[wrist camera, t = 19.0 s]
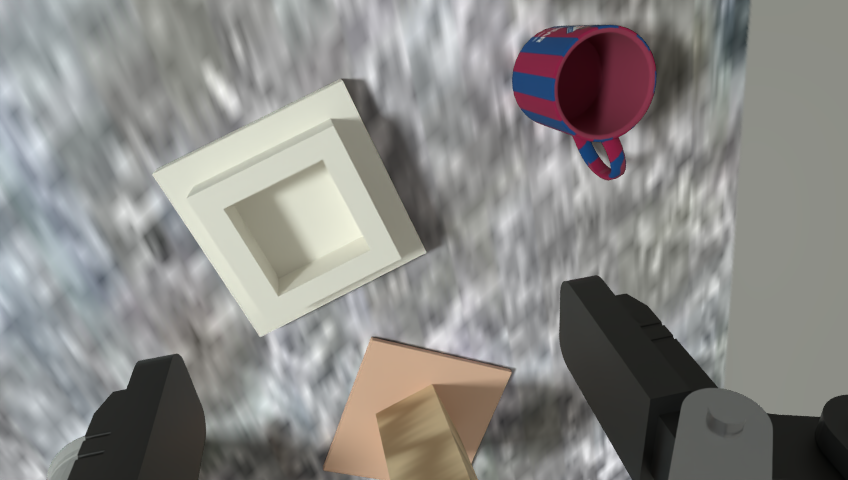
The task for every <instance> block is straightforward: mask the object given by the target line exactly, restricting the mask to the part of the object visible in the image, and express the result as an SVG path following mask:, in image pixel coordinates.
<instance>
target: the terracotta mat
mask: <svg viewBox="0 0 848 480" xmlns="http://www.w3.org/2000/svg"><path fill="white" fill-rule="evenodd" d="M511 373H512V372H511V370H510V369H507V368H503V367H498V366H494V365H490V364H485V363H481V362H477V361H473V360H468V359H464V358H460V357H455V356H451V355H447V354H442V353H438V352H434V351H429V350H425V349H421V348H416V347H412V346H408V345H403V344H399V343H395V342H391V341H386V340H382V339H378V338H373V337H371V339H370V342H369V345H368V347H367V350H366V353H365V355H364V358H363V361H362V363H361V366H360V369H359V372H358V374H357V377H356V380H355V382H354V385H353V388H352V390H351V393H350V396H349V398H348V401H347V404H346V406H345V409H344V412H343V414H342V417H341V420H340V422H339V425H338V428H337V431H336V433H335V436H334V439H333V441H332V444H331V447H330V449H329V452H328V455H327V457H326V460H325V463H324V465H323V471H330V472H336V473H342V474H349V475H355V476H362V477H368V478H375V479H381V480H390V477H389V473H388V468H387V464H386V459H385V455H384V450H383V446H382V441H381V436H380V432H379V427H378V423H377V418H376V413H378V412H380V411H382V410H384V409H386V408H388V407H389V406H391V405H393V404H395V403H397V402H399V401H401V400H403V399H405V398H407V397H409V396H410V395H412V394H414V393H416V392H418V391H420V390H422V389H424V388H426V387H428V386H429V385H431V384H432V385H433V387H434V389H435V390H436V392H437V394H438V396H439V398H440V399H441V401H442V403H443V405H444V407H445V409H446V410H447V412H448V414H449V416H450V418H451V419H452V421H453V423H454V425H455V427H456V429H457V431H458V433H459V436H460V438H461V440H462V443H463V445H464V448H465V450H466V452H467V455H468V457H469V460H470V462H471V463H472V460H473V458H474V456H475V454H476V451H477V449H478V447H479V445H480V443H481V440H482V438H483V436H484V434H485V431H486V429H487V427H488V425H489V422H490V420H491V418H492V416H493V413H494V411H495V409H496V407H497V404H498V402H499V400H500V398H501V396H502V393H503V391H504V389H505V387H506V384H507V382H508V380H509V378H510V375H511Z"/></svg>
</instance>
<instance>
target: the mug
mask: <svg viewBox="0 0 848 480" xmlns="http://www.w3.org/2000/svg"><path fill="white" fill-rule="evenodd" d="M512 84H513V91H514V96H515V98H516V101H517V103H518V105H519V107H520V108H521V110H522V111H523V112H524V113H525V114H526V115H527V116H528V117H529V118H530V119H532V120H533V121H535V122H537V123H539V124H542V125H545V126H547V127H550V128H553V129H556V130H558V131H561V132H564V133H566V134H569V135H572V136H573V139H574V141H575V143H576V145H577V148H578V150H579V152H580V154H581V156H582V158H583V159H584V161H585V163H586V164H587V165H588V167H589V168H590V169H591V170H592V171H593V172H594V173H595V174H596V175H598V176H599V177H600V178H602V179H604V180H612V179H616V178H618V177H620V176H621V175H623V174H624V172H625V170H626V159H625V154H624V151H623V147H622V145H621V142H620V140H619V137H620V136H622V135H623V134H625V133H627V132H628V131H629V130H631V129H632V128H633V127H634V126H635V125H636V124H637V123H638V122H639V121H640V120H641V119H642V117H643V116H644V115H645V113H646V112H647V110H648V108H649V106H650V104H651V101H652V98H653V96H654V92H655V87H656V65H655V61H654V58H653V54H652V52H651V50H650V48H649V46H648V45H647V44H646V42H645V41H644V40H643V39H642V38H641V37H640V36H639V35H638V34H637V33H635V32H634V31H632V30H630V29H628V28H625V27H622V26H617V25H584V26H557V27H551V28H548V29H545V30H543V31H541V32H539V33H537V34H536V35H535V36H534V37H532V38H531V39H530V40H529V41H528V42H527V43H526V44H525V45H524V47H523V48H522V50H521V51H520V53H519V55H518V57H517V59H516V62H515V66H514V69H513V77H512ZM591 142H601V143H602V145H603V146H604V148H605V150H606V153H607V155H608V158H609V161H610V166H611V168H609V167H608V166H606V165H605V164H604V163H603V161H602V160H601V159H600V157H599V156H598V154H597V153H596V151H595V149H594V147H593V145H592V143H591Z"/></svg>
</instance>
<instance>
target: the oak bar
mask: <svg viewBox="0 0 848 480" xmlns="http://www.w3.org/2000/svg"><path fill="white" fill-rule="evenodd" d="M376 418H377V423H378V427H379V432H380V436H381V441H382V446H383V450H384V455H385V459H386V464H387V468H388V473H389V477H390V480H478V479H477V476H476V474H475V472H474V469H473V467H472V464H471V462H470V460H469V457H468V455H467V452H466V450H465V448H464V445H463V443H462V440H461V438H460V436H459V433H458V431H457V429H456V427H455V425H454V423H453V421H452V419H451V418H450V416H449V414H448V412H447V410H446V409H445V407H444V405H443V403H442V401H441V399H440V398H439V396H438V394H437V392H436V390H435V389H434V387H433V385H432V384H431V385H429V386H428V387H426V388H424V389H422V390H420V391H418V392H416V393H414V394H412V395H410V396H409V397H407V398H405V399H403V400H401V401H399V402H397V403H395V404H393V405H391V406H389V407H388V408H386V409H384V410H382V411H380V412H378V413H376Z"/></svg>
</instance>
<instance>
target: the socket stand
mask: <svg viewBox="0 0 848 480" xmlns="http://www.w3.org/2000/svg"><path fill="white" fill-rule="evenodd" d="M152 175H153V176H154V178H155V179H156V181H157V182H158V184H159V185H160V187H161V188H162V190H163V191H164V193H165V194H166V196H167V197H168V199H169V200H170V202H171V203H172V205H173V206H174V208H175V209H176V211H177V212H178V214H179V215H180V217H181V218H182V220H183V221H184V223H185V224H186V226H187V227H188V229H189V230H190V232H191V233H192V235H193V236H194V238H195V240H196V241H197V243H198V244H199V246H200V247H201V249H202V250H203V252H204V253H205V255H206V256H207V258H208V259H209V261H210V262H211V264H212V265H213V267H214V268H215V270H216V271H217V273H218V274H219V276H220V277H221V279H222V280H223V282H224V283H225V285H226V286H227V288H228V289H229V291H230V292H231V294H232V295H233V297H234V298H235V300H236V301H237V303H238V304H239V306H240V307H241V309H242V310H243V312H244V313H245V315H246V316H247V318H248V319H249V321H250V322H251V324H252V325H253V327H254V328H255V330H256V331H257V333H258V334H259V336H260V337H262V336H263V335H265V334H267V333H269V332H271V331H273V330H275V329H277V328H279V327H281V326H283V325H285V324H287V323H289V322H291V321H293V320H295V319H297V318H299V317H301V316H303V315H305V314H307V313H309V312H311V311H313V310H315V309H317V308H319V307H321V306H323V305H324V304H326V303H328V302H330V301H332V300H334V299H336V298H338V297H340V296H342V295H344V294H346V293H348V292H350V291H352V290H354V289H356V288H358V287H360V286H362V285H364V284H366V283H368V282H370V281H372V280H374V279H376V278H378V277H380V276H382V275H384V274H385V273H387V272H389V271H391V270H393V269H395V268H397V267H399V266H401V265H403V264H405V263H407V262H409V261H411V260H413V259H415V258H417V257H419V256H421V255H423V254H425V253H427V252H426V250H425V248H424V246H423V244H422V242H421V240H420V238H419V236H418V234H417V232H416V230H415V228H414V226H413V224H412V222H411V220H410V218H409V216H408V214H407V211H406V209H405V207H404V205H403V203H402V201H401V199H400V197H399V195H398V193H397V191H396V189H395V187H394V185H393V183H392V181H391V179H390V177H389V175H388V173H387V171H386V168H385V166H384V164H383V162H382V160H381V158H380V156H379V154H378V152H377V150H376V148H375V146H374V144H373V142H372V140H371V138H370V136H369V134H368V132H367V130H366V128H365V126H364V123H363V121H362V119H361V117H360V115H359V113H358V111H357V109H356V107H355V105H354V103H353V101H352V99H351V97H350V95H349V93H348V91H347V89H346V87H345V85H344V83H343V81H342V80H341V79H339V80H337V81H335V82H333V83H331V84H329V85H327V86H325V87H323V88H321V89H319V90H317V91H315V92H313V93H311V94H309V95H307V96H305V97H302V98H300V99H298V100H296V101H294V102H292V103H290V104H288V105H286V106H284V107H282V108H280V109H278V110H276V111H274V112H272V113H270V114H268V115H266V116H264V117H262V118H260V119H258V120H256V121H254V122H252V123H250V124H248V125H245V126H243V127H241V128H239V129H237V130H235V131H233V132H231V133H229V134H227V135H225V136H223V137H221V138H219V139H217V140H215V141H213V142H211V143H209V144H207V145H205V146H203V147H201V148H199V149H197V150H195V151H193V152H191V153H188V154H186V155H184V156H182V157H180V158H178V159H176V160H174V161H172V162H170V163H168V164H166V165H164V166H162V167H160V168H158V169H157V170H156V171H155V172H154V173H153V174H152Z"/></svg>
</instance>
